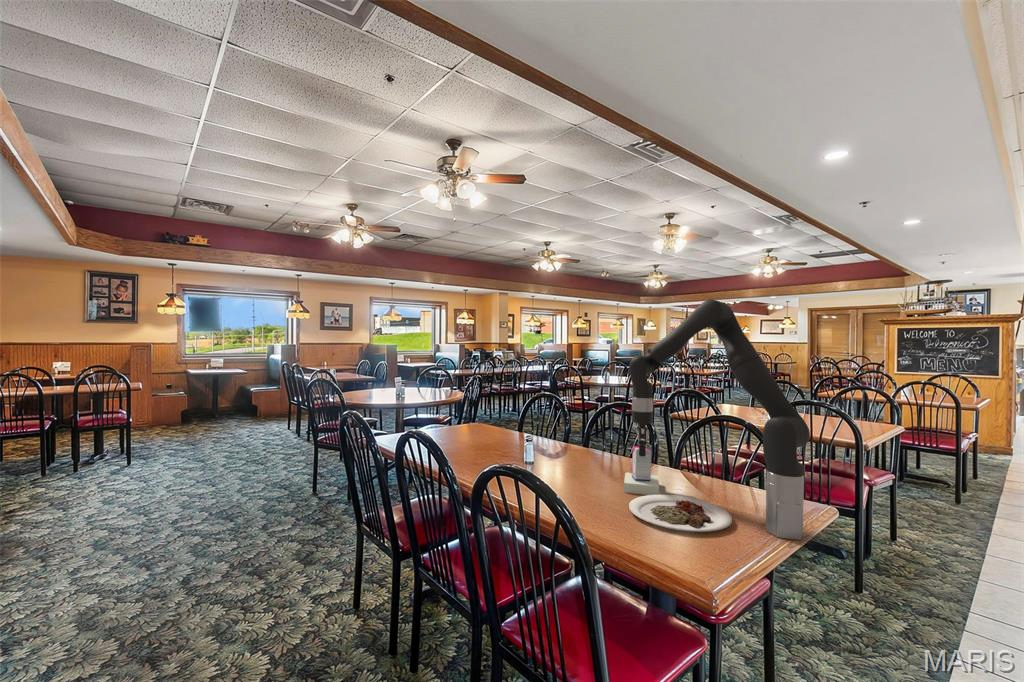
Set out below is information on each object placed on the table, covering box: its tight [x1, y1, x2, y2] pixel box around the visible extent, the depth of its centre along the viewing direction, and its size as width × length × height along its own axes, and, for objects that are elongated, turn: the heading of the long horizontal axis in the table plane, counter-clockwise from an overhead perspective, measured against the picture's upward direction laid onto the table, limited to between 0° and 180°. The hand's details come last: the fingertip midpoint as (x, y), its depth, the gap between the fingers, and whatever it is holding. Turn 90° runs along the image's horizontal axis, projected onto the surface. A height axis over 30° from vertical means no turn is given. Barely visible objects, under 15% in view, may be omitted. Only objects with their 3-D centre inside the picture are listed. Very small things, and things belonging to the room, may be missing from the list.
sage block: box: [623, 472, 660, 496], centre depth 169 cm, size 14×12×4 cm
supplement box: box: [631, 445, 652, 481], centre depth 169 cm, size 6×6×12 cm
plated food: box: [628, 494, 733, 533], centre depth 142 cm, size 30×30×3 cm
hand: (641, 453), depth 169 cm, fingers open, 8 cm apart
